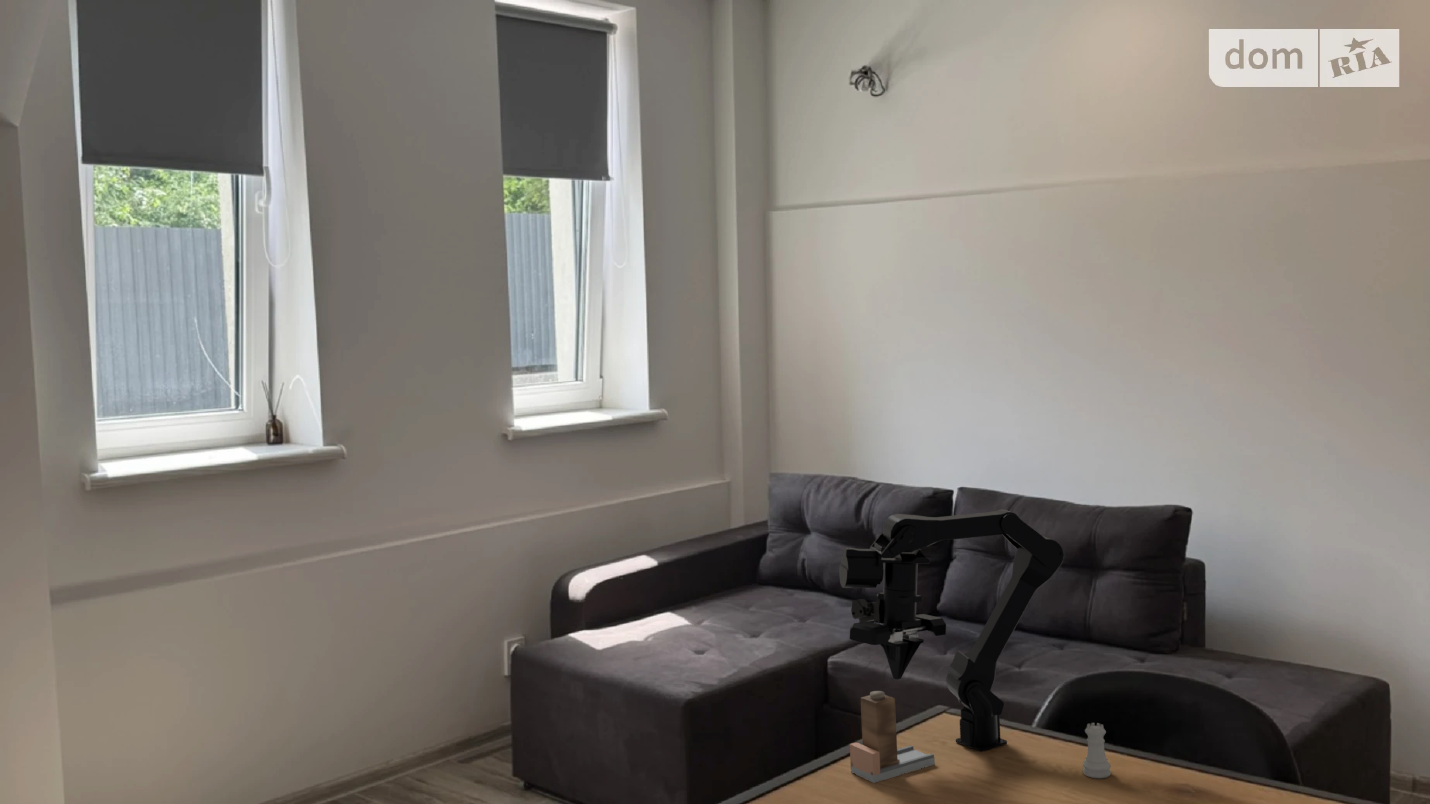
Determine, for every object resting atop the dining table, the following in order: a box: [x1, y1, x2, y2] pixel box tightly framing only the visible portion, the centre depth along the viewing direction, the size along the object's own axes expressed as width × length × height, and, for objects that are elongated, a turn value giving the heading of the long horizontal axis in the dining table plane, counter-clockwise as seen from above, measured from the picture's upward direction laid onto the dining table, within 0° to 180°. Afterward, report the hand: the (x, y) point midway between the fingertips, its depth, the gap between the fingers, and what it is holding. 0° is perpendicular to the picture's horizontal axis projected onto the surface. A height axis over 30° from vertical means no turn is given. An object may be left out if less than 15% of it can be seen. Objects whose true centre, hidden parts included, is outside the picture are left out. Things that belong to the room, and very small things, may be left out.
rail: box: [849, 742, 936, 784], centre depth 198 cm, size 13×6×5 cm, turn 121°
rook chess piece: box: [1082, 722, 1112, 780], centre depth 191 cm, size 4×4×8 cm
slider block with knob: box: [860, 690, 900, 769], centre depth 196 cm, size 5×4×12 cm
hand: (896, 679), depth 205 cm, fingers closed
